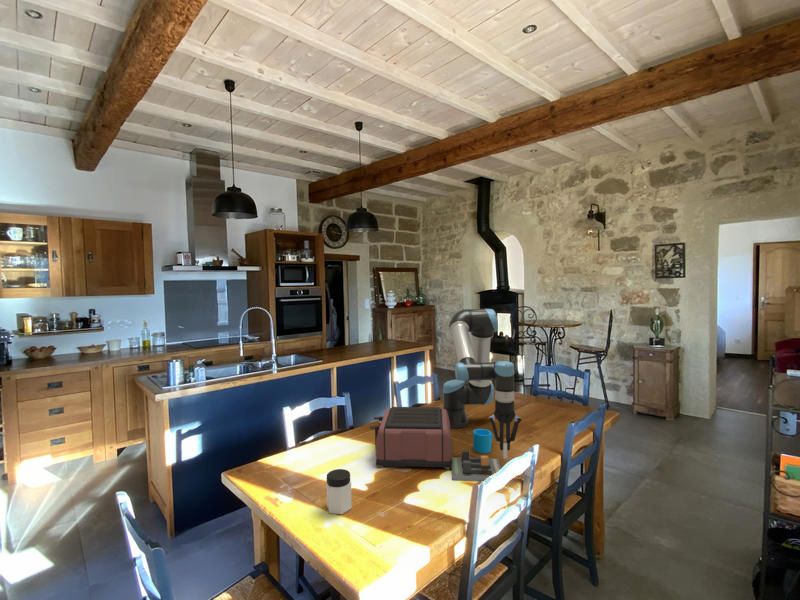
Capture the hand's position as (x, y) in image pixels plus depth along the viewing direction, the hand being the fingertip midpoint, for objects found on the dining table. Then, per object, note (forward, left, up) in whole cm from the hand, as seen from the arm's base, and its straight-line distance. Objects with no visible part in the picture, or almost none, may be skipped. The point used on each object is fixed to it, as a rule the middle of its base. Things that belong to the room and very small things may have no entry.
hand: (504, 457), depth 165 cm
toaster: (-16, -39, -7) cm, 43 cm away
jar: (+30, -62, -7) cm, 69 cm away
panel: (0, -12, -6) cm, 13 cm away
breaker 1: (-5, -16, -4) cm, 17 cm away
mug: (-23, -6, -7) cm, 25 cm away
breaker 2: (+5, -16, -4) cm, 17 cm away
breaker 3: (0, -8, -4) cm, 9 cm away
